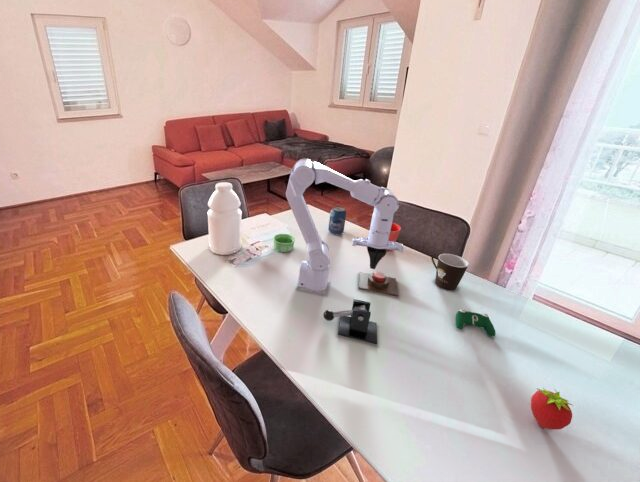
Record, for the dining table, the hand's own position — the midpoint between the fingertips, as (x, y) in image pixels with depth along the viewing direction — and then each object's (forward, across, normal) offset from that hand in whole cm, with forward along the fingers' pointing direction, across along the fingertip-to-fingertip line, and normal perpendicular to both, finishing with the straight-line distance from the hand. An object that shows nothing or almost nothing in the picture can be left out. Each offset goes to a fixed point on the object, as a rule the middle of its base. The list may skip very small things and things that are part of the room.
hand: (372, 267), depth 100 cm
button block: (+10, -4, -5) cm, 12 cm away
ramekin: (+10, +31, -23) cm, 40 cm away
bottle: (+11, +55, -17) cm, 59 cm away
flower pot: (+10, -9, -36) cm, 39 cm away
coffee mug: (+10, -26, -13) cm, 31 cm away
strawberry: (+10, -30, +37) cm, 49 cm away
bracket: (+10, +4, +19) cm, 22 cm away
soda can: (+10, +10, -45) cm, 47 cm away
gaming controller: (+10, -28, +9) cm, 31 cm away
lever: (+6, +8, +19) cm, 21 cm away
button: (+8, -4, -5) cm, 10 cm away
